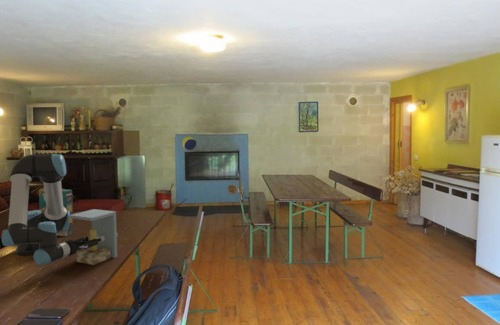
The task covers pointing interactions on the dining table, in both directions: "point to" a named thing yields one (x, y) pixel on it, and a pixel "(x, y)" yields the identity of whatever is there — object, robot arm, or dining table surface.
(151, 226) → the dining table surface
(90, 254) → the socket block
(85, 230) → the dining table surface
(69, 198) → the cake mix box
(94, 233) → the peg
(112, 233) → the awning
